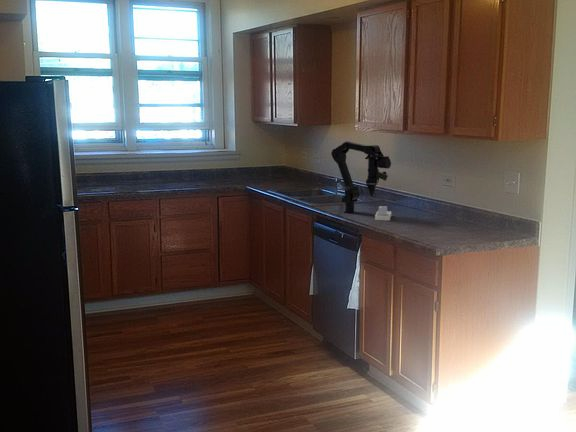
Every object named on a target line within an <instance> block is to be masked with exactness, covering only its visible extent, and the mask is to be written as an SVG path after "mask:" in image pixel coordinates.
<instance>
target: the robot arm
mask: <svg viewBox="0 0 576 432" xmlns="http://www.w3.org/2000/svg"><path fill="white" fill-rule="evenodd" d="M350 150H352V151H357V152H362V153H364V155H366V157H364V159H365V160H367V179H366V180H365V184H366V186H367V189H368V193H369V194H370V196H371V197H372V196H374V194H375V192H376V191H375V190H376V187H377V185H378V183H380V180H383V181H385V182H386V181H387V179H388V178H389V177H388V176H389V175H388V173H387V172H386V171H383V172H381V171H380V169H390V168H391V165H392V161H391V159H390V156H386V155H384V154H383V152H382V150H381V148H380V146H379V145H378V144H369V145H368V144H362V143H357V142H353V141H349V140H348V141H344V142H342V144H340V145H338V146H336V148H334V149H332V151H331V157H332V159H333V161H334V162H335V163H336V164H337V166H338V168H339V173H340V175H341V178H342V180H343V184H344V186H345V187H344V196H343V197H341V203H344V210H343V213H344V214H345V213H346V214H354V213H356V210H355V203H357V202H358V199H359V198H360V195H361V194H360V193H361V191H360V190H359V186H358V185H355V184H354V183H353V179H352V177H351V174H350V171H349V167H348V164H347V162H346V161H347V153H349V151H350Z"/></svg>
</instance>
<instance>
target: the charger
mask: <svg viewBox="0 0 576 432" xmlns="http://www.w3.org/2000/svg"><path fill="white" fill-rule="evenodd" d="M378 211H379V216H387V211H388V206H385V205H384V206H383V205H380V206H379V205H378Z"/></svg>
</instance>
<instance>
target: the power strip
mask: <svg viewBox="0 0 576 432" xmlns="http://www.w3.org/2000/svg"><path fill="white" fill-rule="evenodd" d="M391 218H392V211H389V210H387V216H379V210H377V211H376V213H375V214H374V221H391Z"/></svg>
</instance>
